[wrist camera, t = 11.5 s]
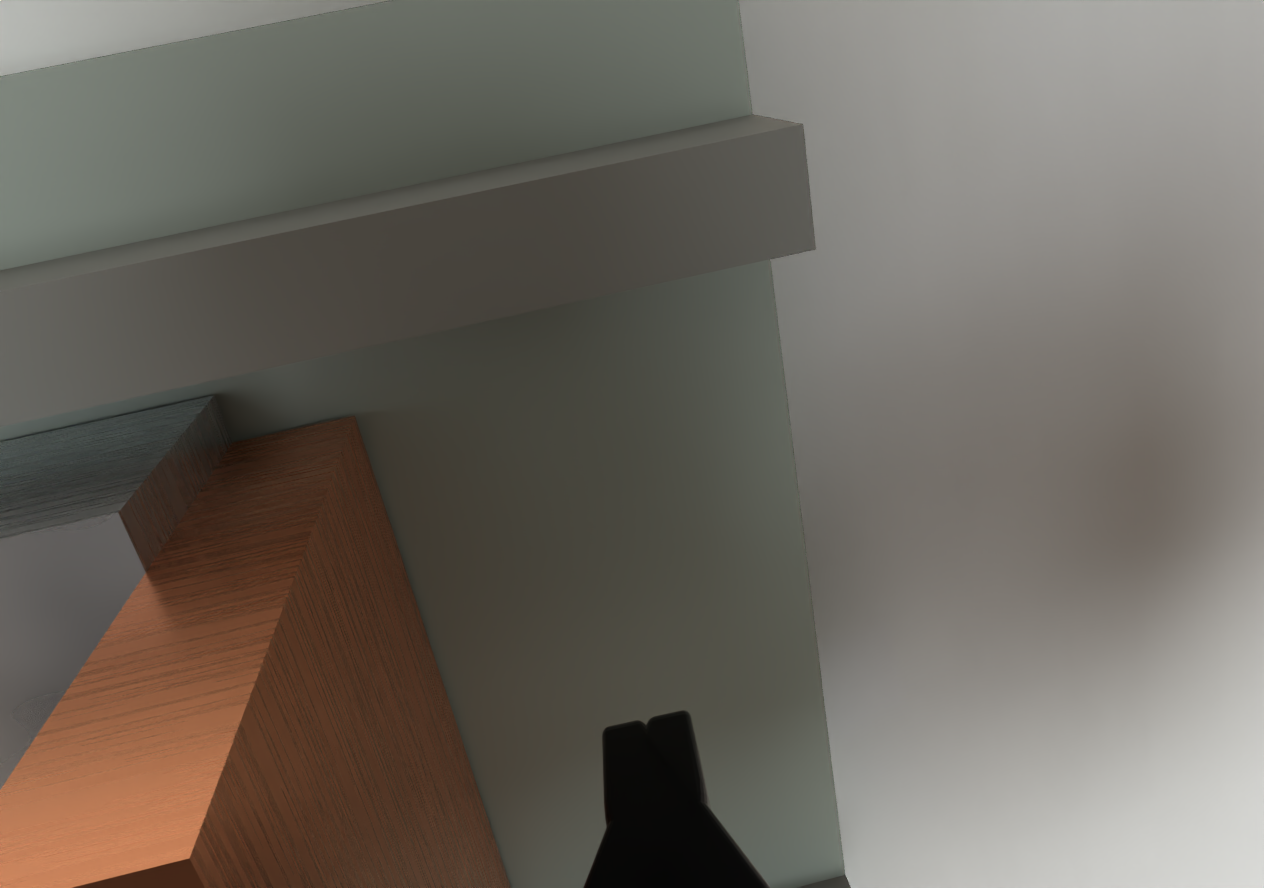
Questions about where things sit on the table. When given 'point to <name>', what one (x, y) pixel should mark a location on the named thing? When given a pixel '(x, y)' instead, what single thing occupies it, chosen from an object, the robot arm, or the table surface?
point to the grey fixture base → (475, 357)
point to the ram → (219, 668)
